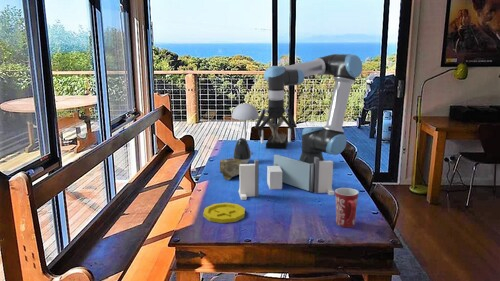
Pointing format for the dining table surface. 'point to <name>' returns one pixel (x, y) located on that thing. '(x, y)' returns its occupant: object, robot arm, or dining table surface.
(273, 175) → the white rectangular block
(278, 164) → the door
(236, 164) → the rock
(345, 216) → the mug
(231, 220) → the decorative disc
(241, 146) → the dark grey rounded lump
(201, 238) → the dining table surface
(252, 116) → the lamp
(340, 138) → the robot arm
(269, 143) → the coral
